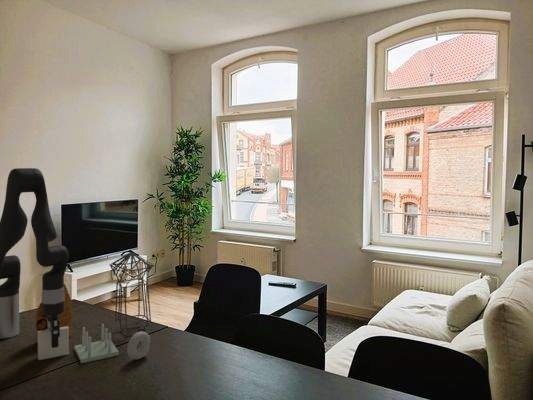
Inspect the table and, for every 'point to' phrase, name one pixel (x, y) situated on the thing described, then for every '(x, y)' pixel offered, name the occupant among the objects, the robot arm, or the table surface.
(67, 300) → the coffee package
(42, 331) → the off-white rectangular prism
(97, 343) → the dish rack
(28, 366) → the table surface
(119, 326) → the geometric lantern
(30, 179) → the robot arm
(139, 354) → the donut
